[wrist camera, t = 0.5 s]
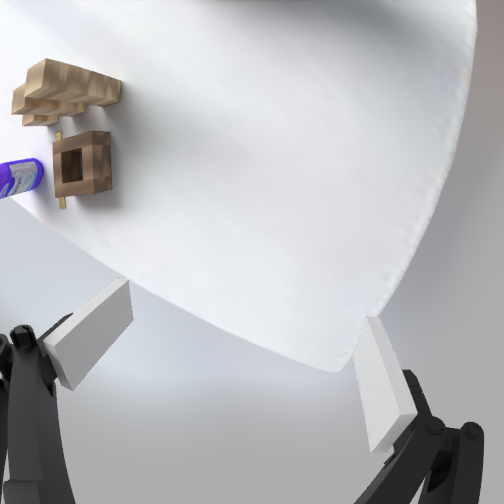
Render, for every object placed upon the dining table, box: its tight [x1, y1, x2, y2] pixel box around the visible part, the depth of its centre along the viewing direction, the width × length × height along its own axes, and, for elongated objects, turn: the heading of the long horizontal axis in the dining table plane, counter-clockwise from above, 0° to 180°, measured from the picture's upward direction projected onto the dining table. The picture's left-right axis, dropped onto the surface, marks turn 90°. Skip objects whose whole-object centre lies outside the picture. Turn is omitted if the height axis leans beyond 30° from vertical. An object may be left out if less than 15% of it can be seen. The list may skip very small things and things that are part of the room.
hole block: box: [53, 131, 112, 198], centre depth 39 cm, size 10×10×5 cm
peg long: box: [24, 58, 121, 107], centre depth 28 cm, size 4×4×18 cm
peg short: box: [22, 114, 58, 126], centre depth 35 cm, size 4×4×7 cm
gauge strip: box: [56, 132, 66, 208], centre depth 42 cm, size 15×2×1 cm, turn 0°
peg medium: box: [11, 83, 86, 117], centre depth 31 cm, size 4×4×15 cm
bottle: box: [0, 158, 43, 198], centre depth 35 cm, size 7×6×17 cm
